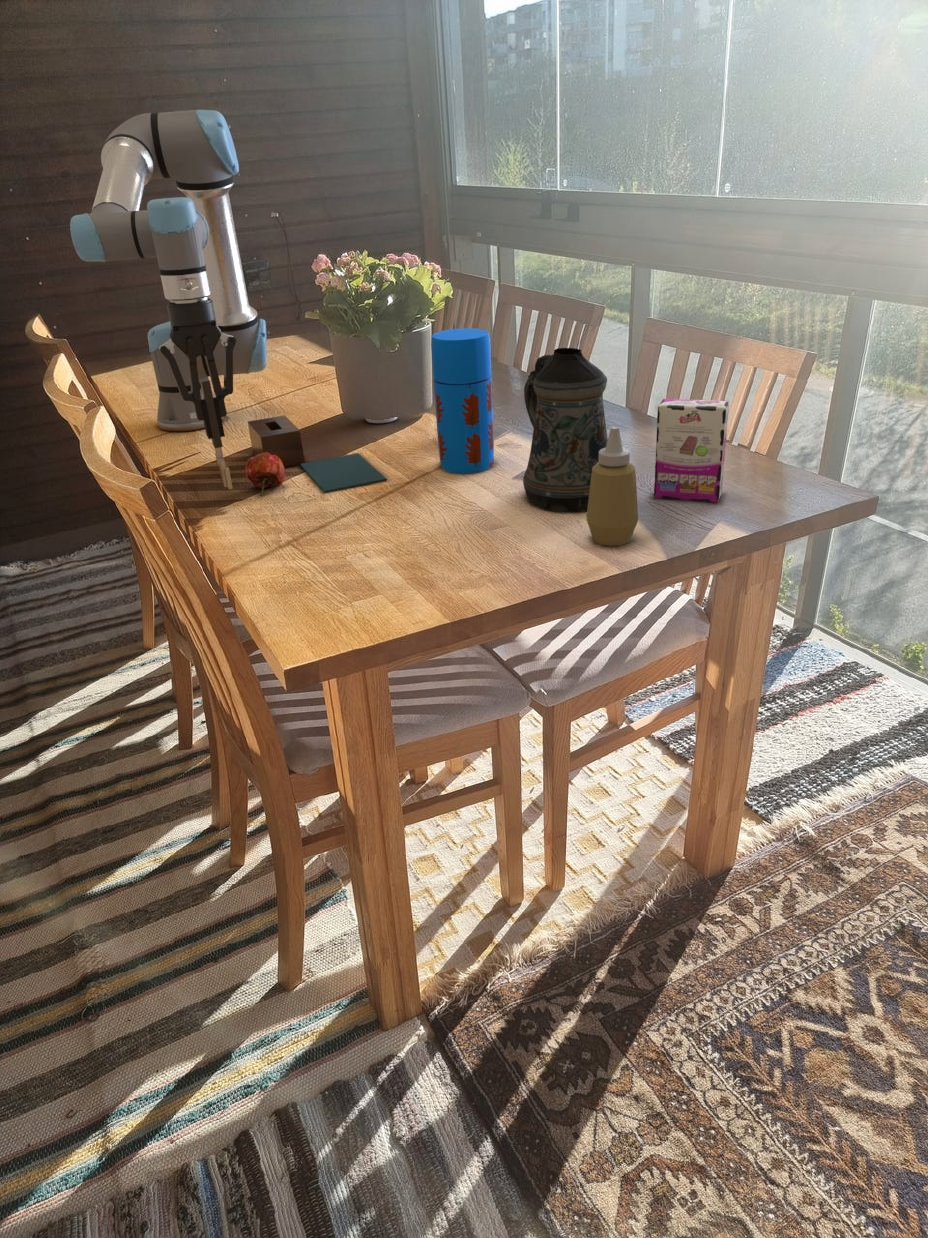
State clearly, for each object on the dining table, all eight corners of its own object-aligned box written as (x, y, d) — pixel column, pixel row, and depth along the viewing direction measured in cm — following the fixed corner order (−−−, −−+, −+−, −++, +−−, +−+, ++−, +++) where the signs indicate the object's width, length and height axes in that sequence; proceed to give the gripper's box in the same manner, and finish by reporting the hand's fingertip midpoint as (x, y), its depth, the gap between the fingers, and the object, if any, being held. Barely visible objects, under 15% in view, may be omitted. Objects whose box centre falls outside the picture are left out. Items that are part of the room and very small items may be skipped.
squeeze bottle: (581, 531, 142) (582, 421, 134) (630, 527, 143) (634, 417, 134) (591, 551, 135) (593, 437, 127) (643, 547, 136) (649, 433, 127)
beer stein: (592, 519, 146) (595, 367, 134) (492, 501, 156) (486, 358, 144) (631, 487, 158) (637, 344, 146) (536, 472, 168) (534, 337, 156)
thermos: (501, 457, 177) (497, 328, 164) (484, 475, 168) (478, 340, 156) (450, 454, 180) (442, 327, 168) (431, 471, 171) (421, 339, 159)
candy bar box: (722, 493, 153) (731, 399, 145) (718, 503, 149) (727, 408, 141) (657, 488, 157) (662, 396, 149) (652, 498, 153) (657, 404, 145)
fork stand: (253, 453, 188) (247, 421, 184) (289, 447, 190) (284, 415, 187) (266, 470, 177) (260, 437, 174) (305, 463, 180) (300, 430, 176)
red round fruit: (286, 504, 166) (297, 459, 170) (267, 483, 160) (278, 437, 164) (252, 506, 169) (263, 462, 173) (232, 485, 163) (244, 440, 166)
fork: (218, 481, 166) (198, 377, 157) (227, 479, 167) (207, 375, 158) (224, 490, 162) (203, 383, 152) (233, 488, 162) (212, 382, 153)
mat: (300, 465, 179) (299, 463, 179) (358, 454, 183) (358, 452, 183) (324, 492, 164) (324, 490, 164) (386, 480, 168) (386, 478, 168)
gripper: (147, 307, 143) (177, 448, 154) (236, 297, 148) (259, 434, 159) (142, 301, 149) (172, 437, 160) (227, 291, 154) (251, 424, 165)
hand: (215, 435), depth 160 cm, fingers closed on fork, 1 cm apart
